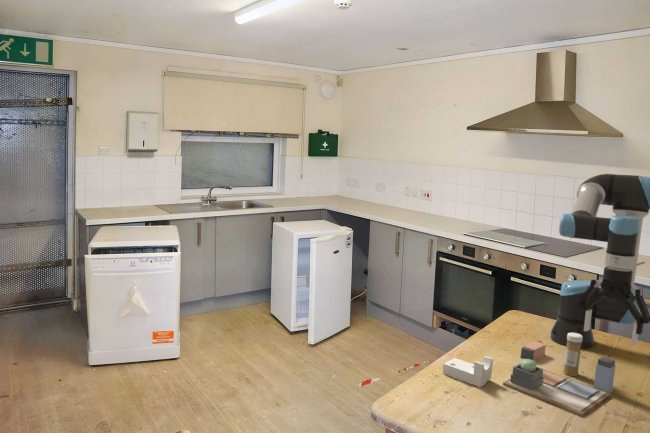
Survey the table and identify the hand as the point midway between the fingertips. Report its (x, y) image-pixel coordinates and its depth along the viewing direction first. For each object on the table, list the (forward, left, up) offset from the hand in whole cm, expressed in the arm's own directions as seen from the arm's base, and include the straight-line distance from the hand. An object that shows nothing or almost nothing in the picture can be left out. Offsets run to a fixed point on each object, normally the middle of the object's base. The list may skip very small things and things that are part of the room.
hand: (609, 337), depth 164 cm
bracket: (+26, -31, -18) cm, 44 cm away
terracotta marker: (-13, -27, -16) cm, 33 cm away
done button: (+17, -16, -12) cm, 26 cm away
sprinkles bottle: (-4, -12, -18) cm, 21 cm away
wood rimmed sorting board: (+12, -9, -17) cm, 23 cm away
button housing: (+17, -16, -17) cm, 29 cm away
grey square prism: (0, 0, -17) cm, 17 cm away
